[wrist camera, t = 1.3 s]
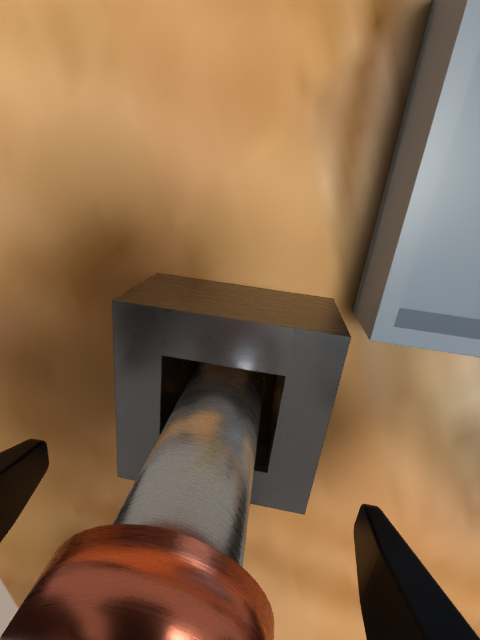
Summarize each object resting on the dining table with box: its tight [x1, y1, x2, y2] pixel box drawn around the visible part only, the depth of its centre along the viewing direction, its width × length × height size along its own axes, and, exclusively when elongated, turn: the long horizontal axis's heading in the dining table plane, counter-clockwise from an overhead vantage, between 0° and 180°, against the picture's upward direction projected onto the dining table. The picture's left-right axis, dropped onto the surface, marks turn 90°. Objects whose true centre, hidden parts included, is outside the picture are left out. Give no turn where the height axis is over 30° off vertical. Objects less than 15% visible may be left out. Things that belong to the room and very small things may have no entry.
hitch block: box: [112, 273, 351, 515], centre depth 13 cm, size 8×8×4 cm
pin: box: [0, 362, 274, 640], centre depth 10 cm, size 4×4×11 cm
